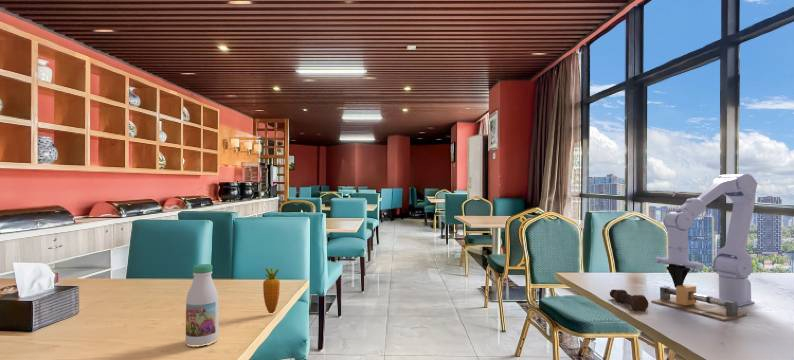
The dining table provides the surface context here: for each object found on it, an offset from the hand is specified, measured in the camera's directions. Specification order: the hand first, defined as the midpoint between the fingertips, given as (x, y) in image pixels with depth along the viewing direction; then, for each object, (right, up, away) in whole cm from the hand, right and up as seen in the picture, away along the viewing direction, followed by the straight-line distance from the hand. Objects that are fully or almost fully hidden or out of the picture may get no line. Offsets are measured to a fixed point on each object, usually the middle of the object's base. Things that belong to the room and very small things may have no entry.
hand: (678, 287), depth 139 cm
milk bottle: (-146, -6, -32) cm, 150 cm away
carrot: (-135, -6, -10) cm, 135 cm away
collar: (+1, -5, -2) cm, 5 cm away
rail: (+2, -6, -5) cm, 8 cm away
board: (+2, -6, -5) cm, 8 cm away
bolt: (-18, -6, 0) cm, 19 cm away
